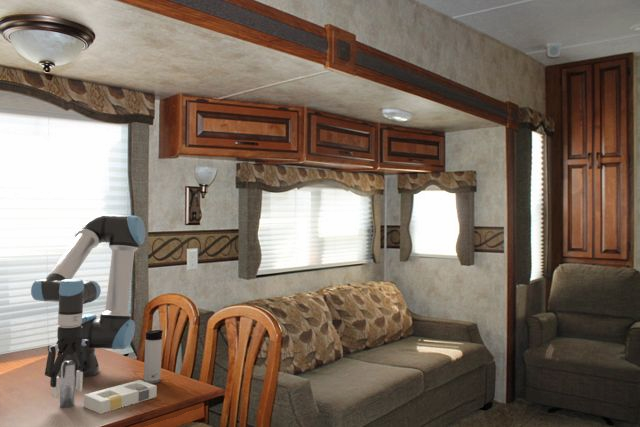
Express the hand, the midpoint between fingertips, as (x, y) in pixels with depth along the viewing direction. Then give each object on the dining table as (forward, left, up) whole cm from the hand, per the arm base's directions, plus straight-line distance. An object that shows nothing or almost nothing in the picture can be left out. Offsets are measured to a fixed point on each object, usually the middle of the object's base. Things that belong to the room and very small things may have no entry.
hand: (67, 393), depth 185 cm
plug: (0, 0, -4) cm, 4 cm away
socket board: (+10, +14, -4) cm, 18 cm away
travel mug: (0, +35, -4) cm, 35 cm away
